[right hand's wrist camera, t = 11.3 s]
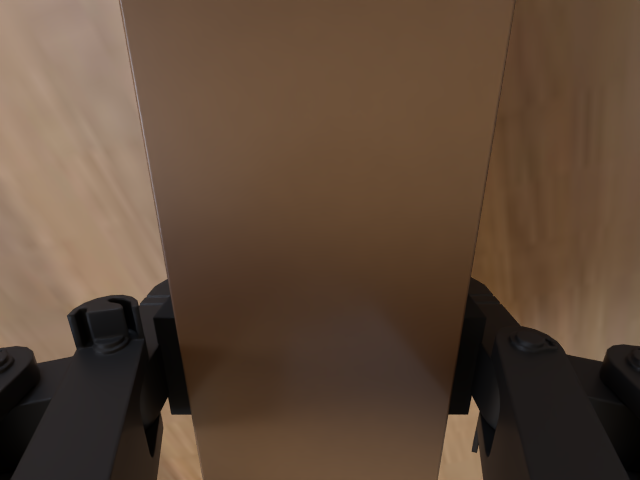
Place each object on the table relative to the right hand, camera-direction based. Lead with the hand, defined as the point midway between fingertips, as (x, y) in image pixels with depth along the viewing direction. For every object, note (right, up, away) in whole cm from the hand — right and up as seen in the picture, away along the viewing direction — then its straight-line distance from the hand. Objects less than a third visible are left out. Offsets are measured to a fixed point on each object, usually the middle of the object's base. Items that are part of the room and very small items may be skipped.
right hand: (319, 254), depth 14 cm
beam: (0, +24, -9) cm, 25 cm away
